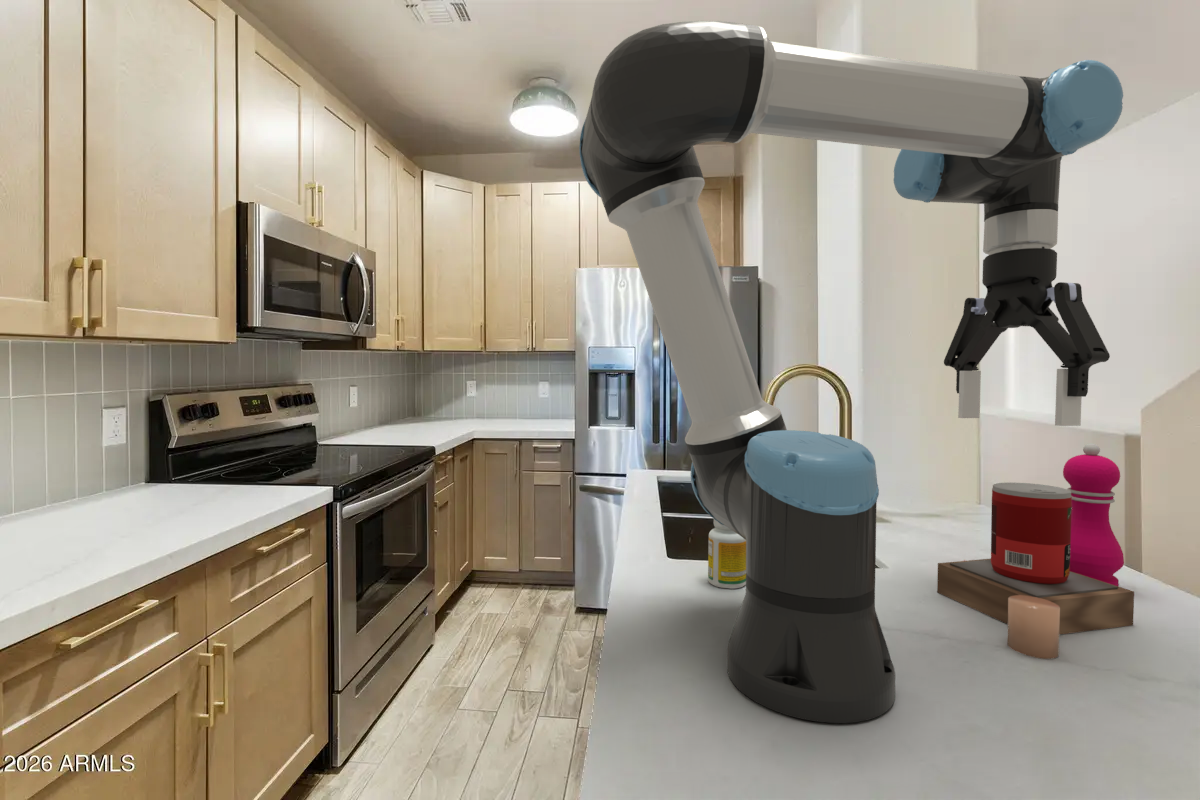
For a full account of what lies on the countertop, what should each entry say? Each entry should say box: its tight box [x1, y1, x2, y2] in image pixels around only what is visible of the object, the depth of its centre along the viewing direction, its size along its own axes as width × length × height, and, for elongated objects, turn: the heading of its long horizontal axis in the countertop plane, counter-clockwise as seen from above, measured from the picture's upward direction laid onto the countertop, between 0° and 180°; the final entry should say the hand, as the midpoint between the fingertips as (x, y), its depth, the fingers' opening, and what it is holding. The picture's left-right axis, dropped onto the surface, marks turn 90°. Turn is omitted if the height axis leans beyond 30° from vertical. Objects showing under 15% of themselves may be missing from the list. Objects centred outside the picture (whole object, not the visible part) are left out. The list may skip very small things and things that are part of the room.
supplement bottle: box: [707, 518, 746, 590], centre depth 81 cm, size 5×5×10 cm
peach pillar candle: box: [1006, 595, 1060, 660], centre depth 61 cm, size 4×4×5 cm
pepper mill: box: [1062, 443, 1125, 587], centre depth 79 cm, size 7×7×20 cm
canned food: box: [990, 482, 1072, 584], centre depth 72 cm, size 8×8×11 cm
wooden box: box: [936, 558, 1135, 636], centre depth 72 cm, size 14×14×4 cm
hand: (1013, 421), depth 73 cm, fingers open, 13 cm apart
